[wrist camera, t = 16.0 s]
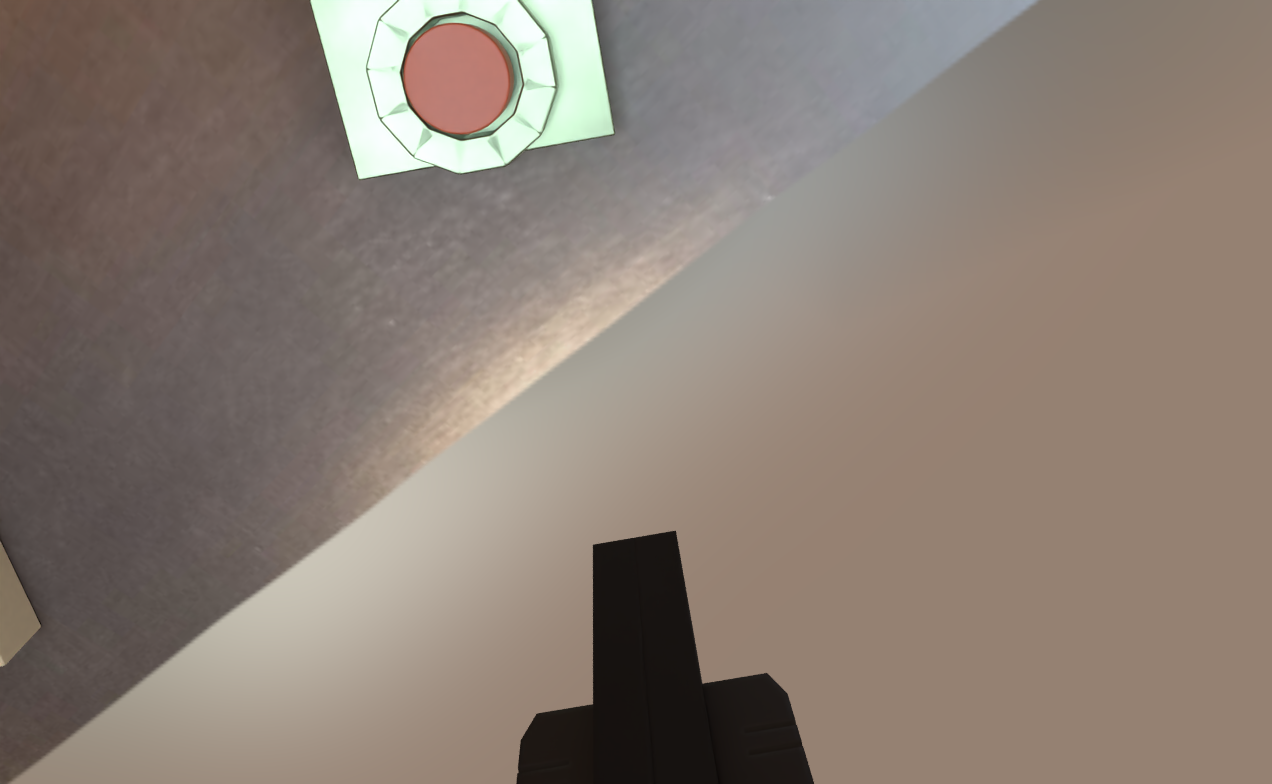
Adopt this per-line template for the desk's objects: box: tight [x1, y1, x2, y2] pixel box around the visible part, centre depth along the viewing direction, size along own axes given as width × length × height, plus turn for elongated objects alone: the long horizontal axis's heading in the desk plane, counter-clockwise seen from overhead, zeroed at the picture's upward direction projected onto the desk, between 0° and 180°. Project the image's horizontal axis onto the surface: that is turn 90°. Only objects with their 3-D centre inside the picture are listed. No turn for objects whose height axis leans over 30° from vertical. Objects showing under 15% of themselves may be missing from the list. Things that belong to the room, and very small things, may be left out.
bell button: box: [403, 23, 514, 134], centre depth 32 cm, size 4×4×2 cm
